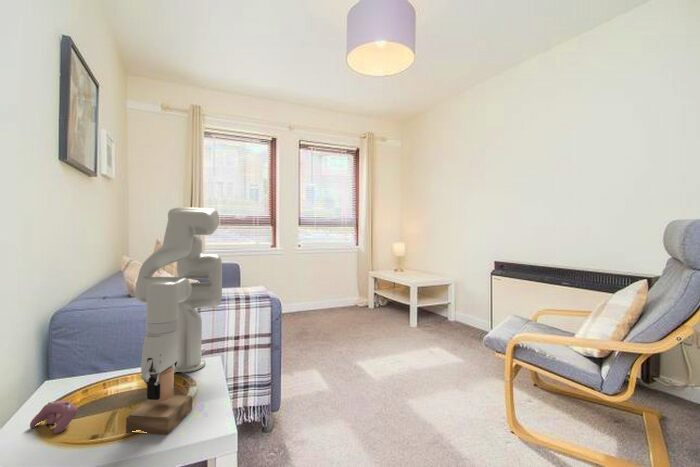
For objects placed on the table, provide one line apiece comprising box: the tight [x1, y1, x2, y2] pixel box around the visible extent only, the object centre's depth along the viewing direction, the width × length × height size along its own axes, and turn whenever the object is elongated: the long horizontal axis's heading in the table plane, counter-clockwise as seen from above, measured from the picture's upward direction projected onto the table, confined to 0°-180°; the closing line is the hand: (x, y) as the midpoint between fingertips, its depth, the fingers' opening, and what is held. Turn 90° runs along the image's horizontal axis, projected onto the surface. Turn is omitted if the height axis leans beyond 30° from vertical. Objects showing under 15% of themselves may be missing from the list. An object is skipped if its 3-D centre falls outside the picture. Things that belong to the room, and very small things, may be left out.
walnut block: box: [125, 394, 193, 436], centre depth 94 cm, size 12×11×4 cm
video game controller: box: [29, 400, 78, 434], centre depth 91 cm, size 10×5×7 cm, turn 76°
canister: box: [149, 366, 175, 402], centre depth 93 cm, size 6×6×7 cm
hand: (161, 392), depth 93 cm, fingers closed on canister, 6 cm apart
